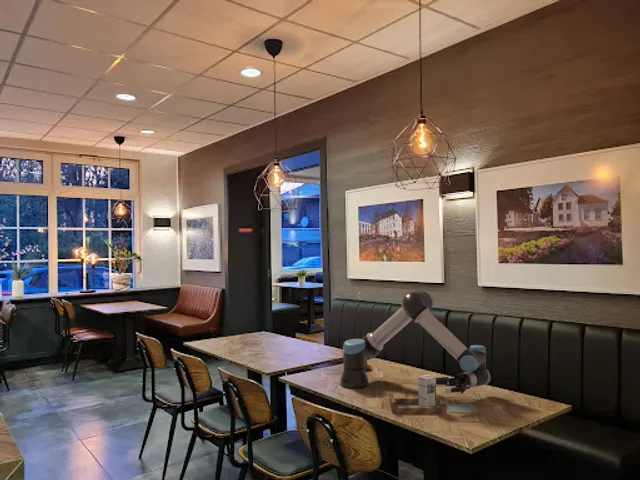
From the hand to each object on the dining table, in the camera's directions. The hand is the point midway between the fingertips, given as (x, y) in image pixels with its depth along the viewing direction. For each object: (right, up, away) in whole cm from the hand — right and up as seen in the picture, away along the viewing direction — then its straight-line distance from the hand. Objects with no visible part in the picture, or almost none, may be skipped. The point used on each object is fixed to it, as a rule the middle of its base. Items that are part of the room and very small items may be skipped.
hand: (433, 387), depth 225 cm
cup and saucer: (-27, -11, +74) cm, 79 cm away
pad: (+12, -9, -2) cm, 15 cm away
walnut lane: (-8, -9, -1) cm, 12 cm away
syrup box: (-3, -9, -2) cm, 10 cm away
